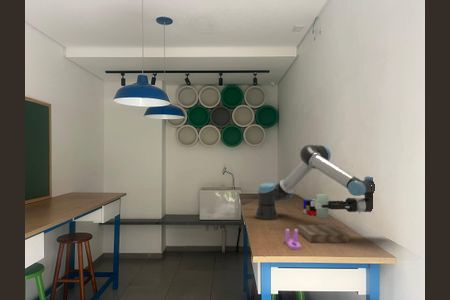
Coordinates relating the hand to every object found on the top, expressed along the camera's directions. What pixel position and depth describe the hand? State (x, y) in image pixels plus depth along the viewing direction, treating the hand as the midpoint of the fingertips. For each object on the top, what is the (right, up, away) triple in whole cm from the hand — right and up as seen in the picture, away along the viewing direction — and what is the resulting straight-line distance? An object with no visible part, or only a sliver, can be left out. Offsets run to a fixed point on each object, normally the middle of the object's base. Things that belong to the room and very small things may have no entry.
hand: (313, 204), depth 163 cm
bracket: (-14, -17, -16) cm, 27 cm away
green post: (+5, -7, 0) cm, 8 cm away
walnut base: (+5, -17, 0) cm, 18 cm away
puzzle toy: (+18, -18, +63) cm, 69 cm away
